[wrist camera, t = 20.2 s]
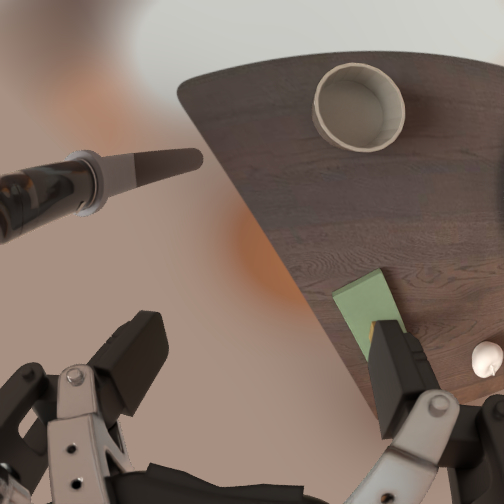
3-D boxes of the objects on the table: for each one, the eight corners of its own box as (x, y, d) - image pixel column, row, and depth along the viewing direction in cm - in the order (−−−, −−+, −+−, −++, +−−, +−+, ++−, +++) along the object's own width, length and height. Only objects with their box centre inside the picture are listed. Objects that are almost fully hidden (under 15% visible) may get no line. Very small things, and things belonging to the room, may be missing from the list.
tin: (313, 149, 35) (316, 150, 28) (309, 77, 32) (311, 61, 25) (385, 152, 34) (406, 154, 26) (382, 81, 30) (401, 68, 23)
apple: (474, 335, 41) (492, 361, 33) (498, 333, 40) (516, 357, 32) (461, 363, 43) (475, 390, 36) (485, 361, 42) (500, 385, 35)
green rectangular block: (331, 292, 42) (332, 297, 41) (379, 267, 40) (381, 271, 38) (372, 368, 46) (373, 373, 45) (412, 348, 43) (414, 354, 42)
